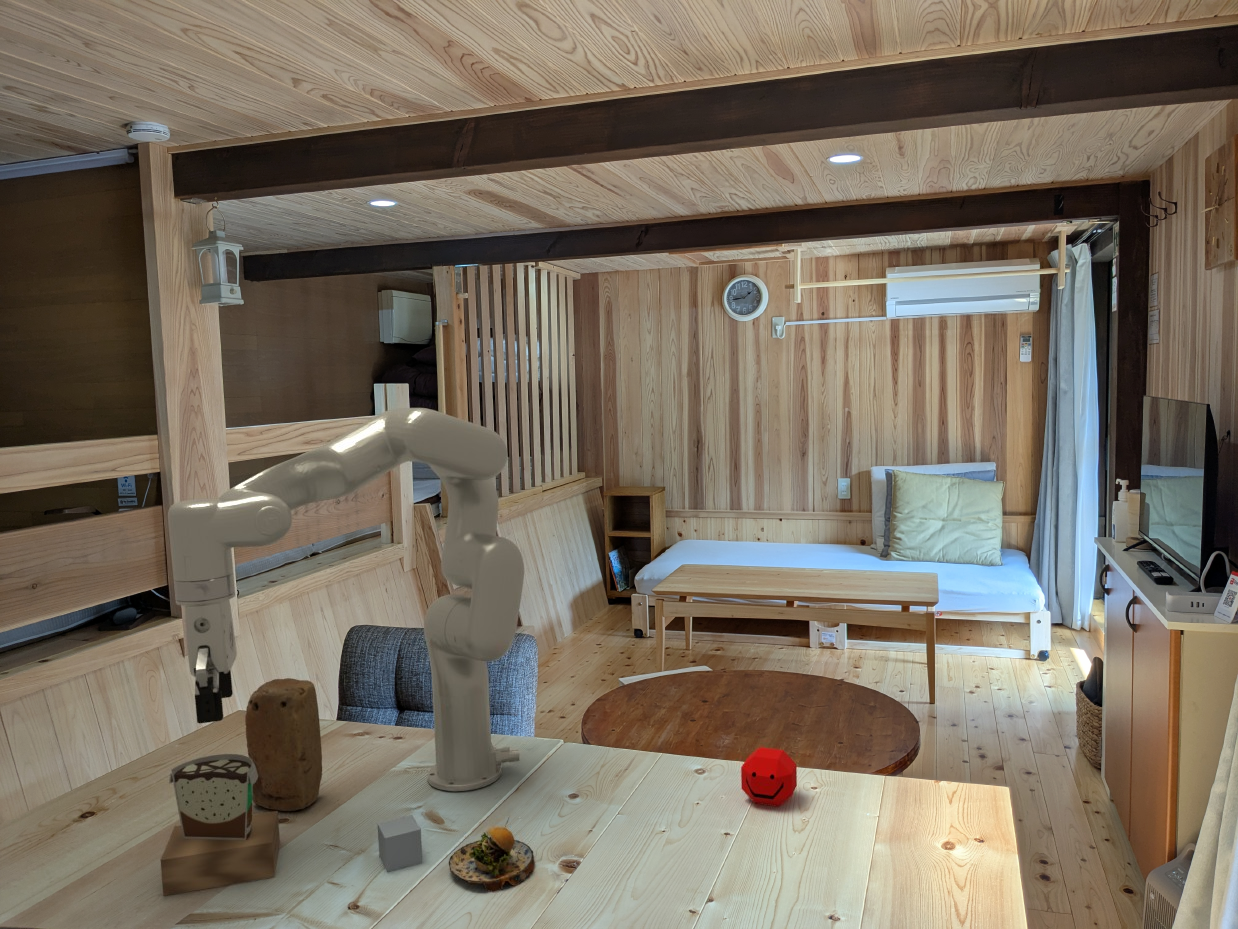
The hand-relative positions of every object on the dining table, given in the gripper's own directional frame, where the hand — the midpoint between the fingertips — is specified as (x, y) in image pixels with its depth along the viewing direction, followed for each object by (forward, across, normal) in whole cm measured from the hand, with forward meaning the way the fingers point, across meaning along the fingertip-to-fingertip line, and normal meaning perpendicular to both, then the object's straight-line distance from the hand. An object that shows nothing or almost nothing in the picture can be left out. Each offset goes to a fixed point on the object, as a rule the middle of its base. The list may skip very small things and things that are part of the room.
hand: (215, 709), depth 127 cm
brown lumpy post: (+24, +19, -6) cm, 31 cm away
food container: (+18, +1, 0) cm, 18 cm away
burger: (+24, -13, -35) cm, 45 cm away
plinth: (+23, 0, +1) cm, 23 cm away
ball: (+24, -7, -80) cm, 84 cm away
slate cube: (+23, -6, -23) cm, 34 cm away
